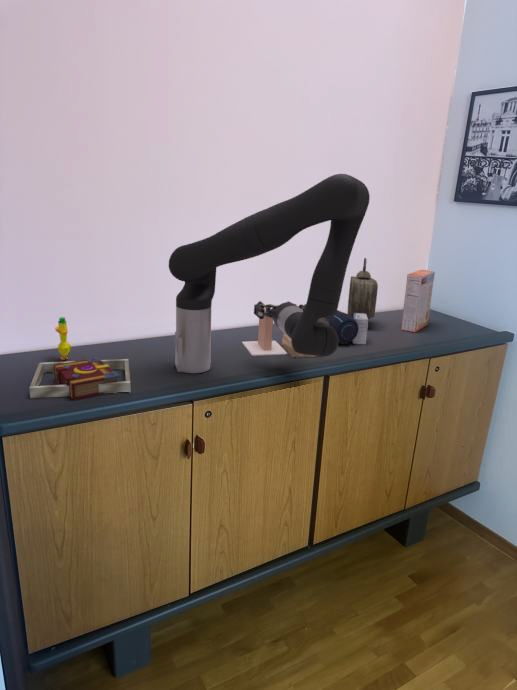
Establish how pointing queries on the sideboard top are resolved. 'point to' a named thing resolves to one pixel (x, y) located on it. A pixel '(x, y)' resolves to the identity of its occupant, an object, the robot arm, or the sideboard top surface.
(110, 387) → the display tray
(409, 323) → the cracker box
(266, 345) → the cover plate
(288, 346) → the plate holder
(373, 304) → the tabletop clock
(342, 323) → the portable speaker
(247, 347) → the mat
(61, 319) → the toy figure
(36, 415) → the sideboard top surface
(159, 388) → the sideboard top surface
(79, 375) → the decorative book
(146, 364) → the sideboard top surface
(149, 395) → the sideboard top surface
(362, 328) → the medicine box
